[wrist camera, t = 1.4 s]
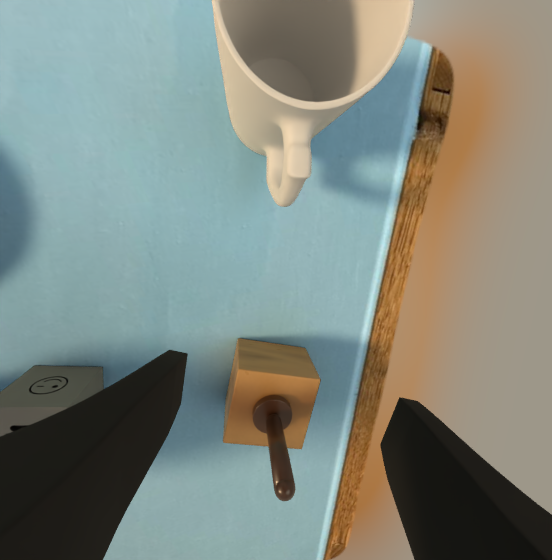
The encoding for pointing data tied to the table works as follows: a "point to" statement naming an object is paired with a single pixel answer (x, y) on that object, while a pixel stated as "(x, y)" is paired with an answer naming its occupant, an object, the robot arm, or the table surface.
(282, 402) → the brown peg
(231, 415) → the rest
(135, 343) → the table surface
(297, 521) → the table surface
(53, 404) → the dice cube
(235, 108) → the mug
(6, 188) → the table surface
